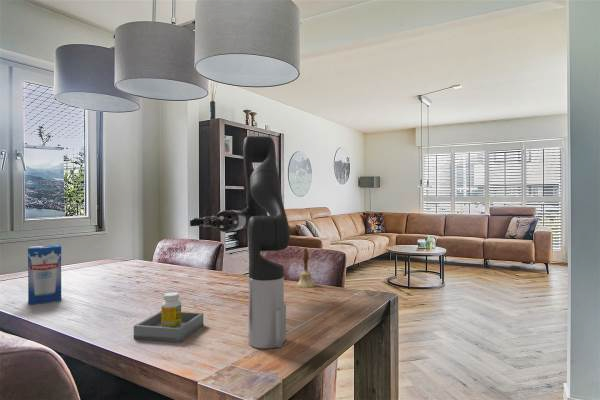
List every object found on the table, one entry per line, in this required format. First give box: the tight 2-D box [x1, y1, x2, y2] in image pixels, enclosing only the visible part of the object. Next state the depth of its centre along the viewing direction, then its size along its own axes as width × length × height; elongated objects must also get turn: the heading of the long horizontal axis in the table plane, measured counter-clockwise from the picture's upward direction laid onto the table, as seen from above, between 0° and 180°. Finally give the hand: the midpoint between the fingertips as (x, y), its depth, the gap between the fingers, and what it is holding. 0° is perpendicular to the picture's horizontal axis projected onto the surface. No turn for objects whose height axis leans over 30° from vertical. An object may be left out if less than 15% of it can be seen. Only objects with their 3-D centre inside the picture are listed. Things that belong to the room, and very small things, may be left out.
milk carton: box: [27, 244, 62, 306], centre depth 134 cm, size 10×6×20 cm, turn 123°
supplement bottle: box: [160, 291, 182, 328], centre depth 104 cm, size 5×5×10 cm
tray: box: [133, 310, 204, 343], centre depth 104 cm, size 14×14×4 cm
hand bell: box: [296, 248, 316, 288], centre depth 158 cm, size 8×8×16 cm
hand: (201, 223), depth 117 cm, fingers open, 8 cm apart
